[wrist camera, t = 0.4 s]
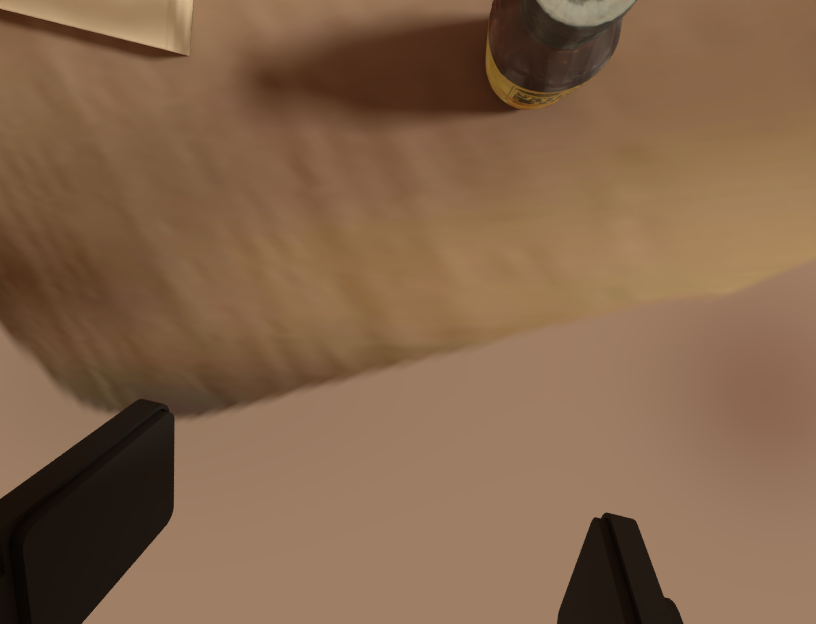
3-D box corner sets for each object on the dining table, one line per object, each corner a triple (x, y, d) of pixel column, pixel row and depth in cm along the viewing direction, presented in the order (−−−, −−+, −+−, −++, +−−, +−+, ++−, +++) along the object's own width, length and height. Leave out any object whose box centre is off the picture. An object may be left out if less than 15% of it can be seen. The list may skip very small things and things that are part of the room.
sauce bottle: (509, 128, 36) (523, 114, 18) (470, 44, 35) (440, -66, 17) (598, 78, 35) (717, 5, 16) (560, -13, 33) (642, -207, 15)
